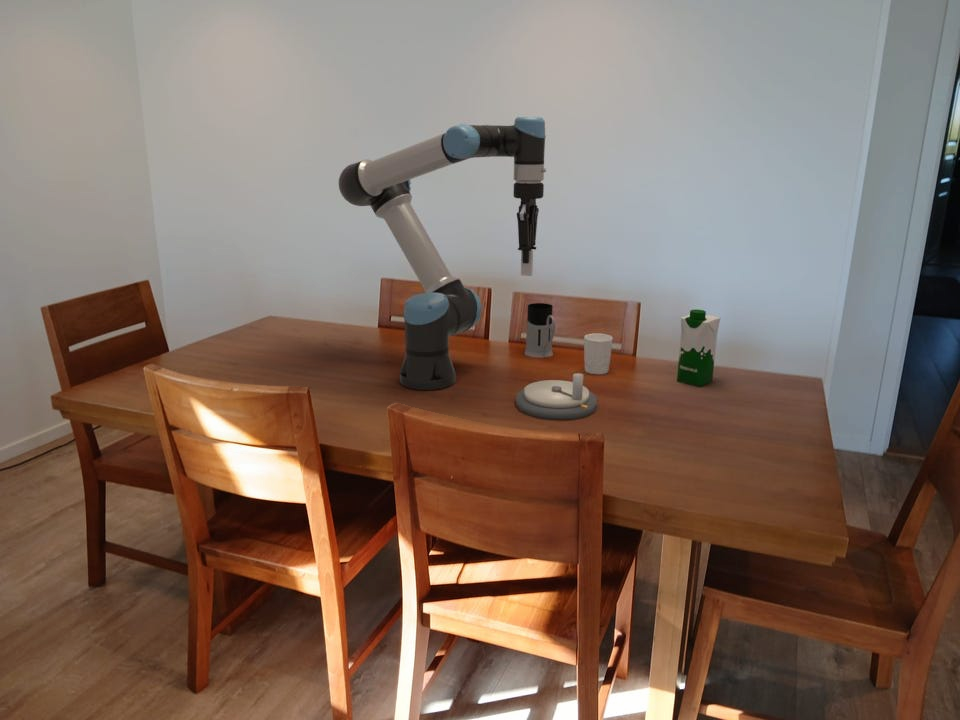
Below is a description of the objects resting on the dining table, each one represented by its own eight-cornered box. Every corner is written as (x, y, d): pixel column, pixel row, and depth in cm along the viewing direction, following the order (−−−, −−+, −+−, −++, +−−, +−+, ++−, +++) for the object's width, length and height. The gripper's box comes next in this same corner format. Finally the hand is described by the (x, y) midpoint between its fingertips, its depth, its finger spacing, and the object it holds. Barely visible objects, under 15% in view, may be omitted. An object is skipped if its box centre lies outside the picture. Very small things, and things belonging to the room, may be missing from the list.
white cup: (610, 376, 202) (612, 341, 199) (581, 374, 204) (583, 340, 201) (611, 367, 210) (613, 334, 207) (583, 365, 211) (585, 332, 208)
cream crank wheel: (510, 394, 182) (511, 366, 179) (556, 381, 191) (557, 354, 189) (556, 413, 170) (557, 383, 167) (602, 398, 179) (604, 369, 177)
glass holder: (545, 348, 228) (547, 301, 224) (566, 361, 215) (568, 312, 211) (519, 351, 225) (520, 303, 221) (539, 364, 213) (540, 314, 208)
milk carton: (672, 381, 198) (678, 310, 192) (688, 373, 205) (694, 304, 199) (701, 388, 193) (709, 315, 187) (717, 380, 199) (725, 309, 193)
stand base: (506, 413, 175) (506, 405, 174) (527, 387, 193) (527, 379, 193) (588, 424, 169) (589, 415, 168) (602, 395, 187) (603, 387, 187)
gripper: (536, 184, 174) (534, 280, 182) (549, 180, 186) (546, 271, 193) (506, 183, 177) (505, 278, 184) (521, 179, 189) (519, 270, 196)
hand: (526, 275), depth 189 cm, fingers closed
